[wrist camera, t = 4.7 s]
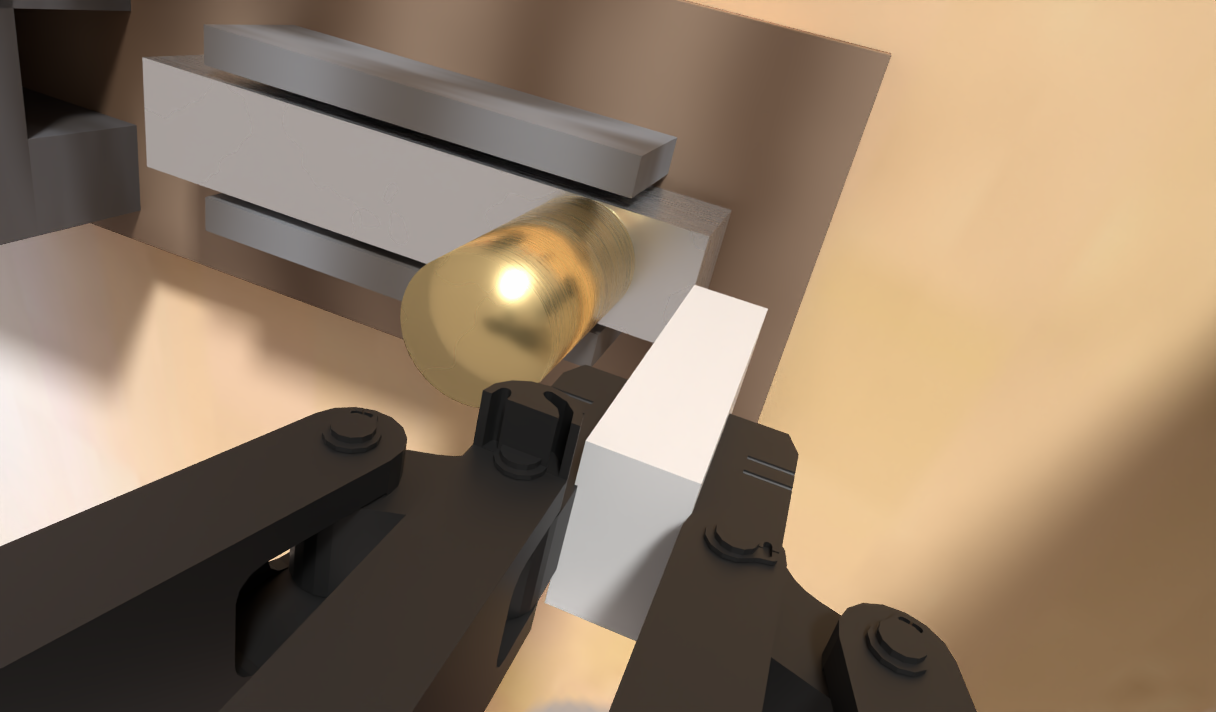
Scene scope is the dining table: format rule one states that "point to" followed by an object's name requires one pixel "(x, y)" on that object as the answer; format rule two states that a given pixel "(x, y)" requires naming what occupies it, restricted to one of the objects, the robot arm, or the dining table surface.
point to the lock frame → (450, 130)
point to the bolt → (442, 222)
